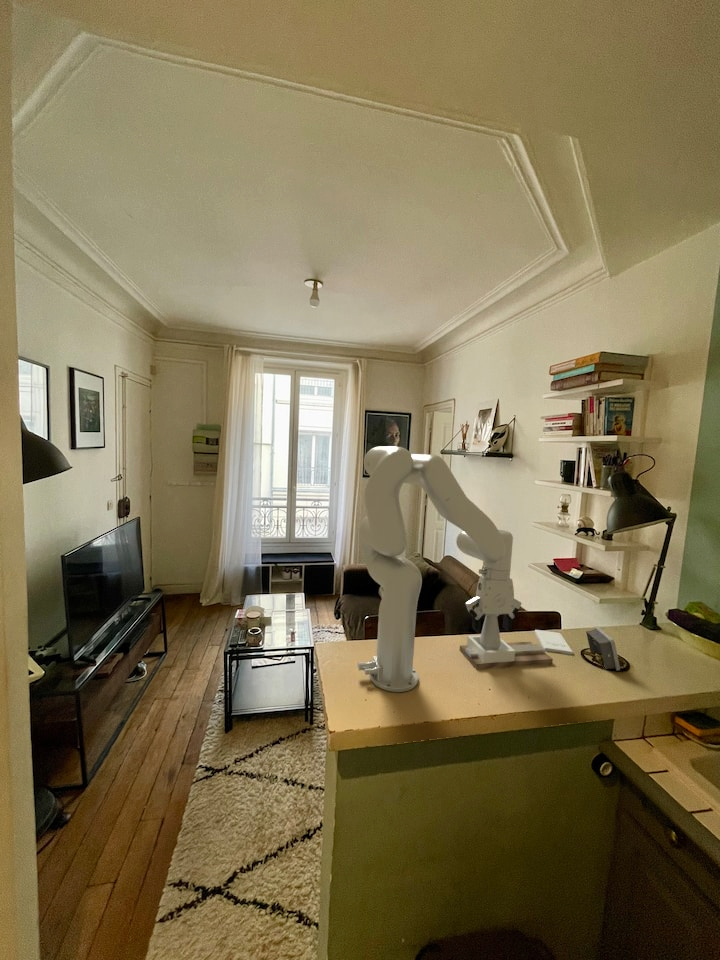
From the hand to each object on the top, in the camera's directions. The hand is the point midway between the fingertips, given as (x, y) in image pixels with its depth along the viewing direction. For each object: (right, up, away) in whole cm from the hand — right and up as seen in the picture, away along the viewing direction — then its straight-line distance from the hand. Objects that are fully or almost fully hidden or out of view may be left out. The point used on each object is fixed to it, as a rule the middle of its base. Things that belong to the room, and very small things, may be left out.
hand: (491, 630), depth 108 cm
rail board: (+4, -8, +2) cm, 10 cm away
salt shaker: (0, -6, 0) cm, 6 cm away
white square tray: (0, -7, 0) cm, 7 cm away
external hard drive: (+24, -10, +12) cm, 28 cm away
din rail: (+5, -7, +1) cm, 8 cm away
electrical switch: (+33, -10, +1) cm, 35 cm away
